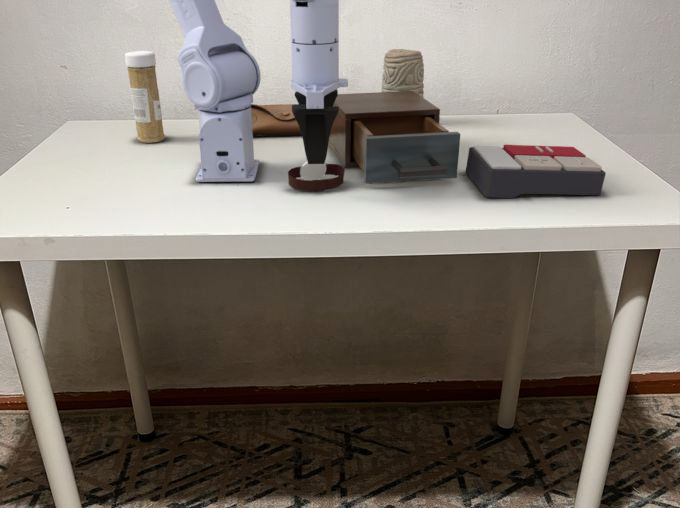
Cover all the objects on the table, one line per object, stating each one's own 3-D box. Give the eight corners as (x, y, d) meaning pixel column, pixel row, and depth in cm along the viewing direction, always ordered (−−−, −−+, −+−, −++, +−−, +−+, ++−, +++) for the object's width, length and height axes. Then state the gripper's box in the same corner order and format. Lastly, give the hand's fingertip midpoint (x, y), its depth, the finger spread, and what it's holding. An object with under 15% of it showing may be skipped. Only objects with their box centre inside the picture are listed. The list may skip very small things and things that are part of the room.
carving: (373, 122, 125) (375, 49, 119) (410, 117, 128) (413, 46, 121) (391, 129, 120) (394, 54, 114) (428, 125, 123) (433, 51, 116)
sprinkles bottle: (170, 140, 115) (160, 52, 108) (146, 145, 113) (134, 55, 106) (155, 135, 118) (144, 49, 111) (131, 140, 116) (118, 52, 109)
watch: (338, 179, 96) (338, 152, 94) (349, 189, 92) (350, 161, 91) (284, 184, 94) (283, 157, 92) (293, 195, 90) (292, 167, 89)
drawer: (470, 189, 89) (474, 143, 86) (374, 196, 87) (376, 149, 84) (428, 153, 104) (431, 112, 101) (346, 157, 102) (346, 116, 99)
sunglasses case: (232, 136, 115) (230, 95, 115) (234, 148, 122) (232, 110, 122) (341, 132, 116) (339, 92, 116) (337, 145, 123) (335, 107, 123)
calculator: (608, 166, 87) (490, 163, 86) (600, 200, 90) (485, 197, 88) (576, 144, 97) (469, 141, 96) (569, 175, 99) (464, 172, 98)
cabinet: (436, 162, 103) (440, 109, 99) (345, 168, 101) (345, 113, 97) (410, 139, 114) (413, 90, 110) (328, 144, 112) (328, 94, 108)
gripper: (350, 49, 78) (349, 170, 85) (346, 33, 90) (346, 140, 97) (286, 50, 78) (290, 171, 85) (291, 34, 90) (295, 141, 97)
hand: (316, 155), depth 91 cm, fingers open, 7 cm apart
